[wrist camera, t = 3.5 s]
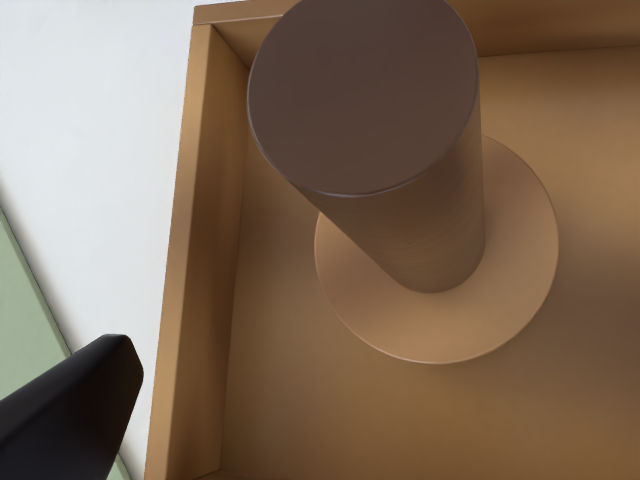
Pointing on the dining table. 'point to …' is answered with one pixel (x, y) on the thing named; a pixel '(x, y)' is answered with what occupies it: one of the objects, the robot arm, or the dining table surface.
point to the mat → (28, 327)
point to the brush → (403, 177)
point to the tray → (351, 352)
